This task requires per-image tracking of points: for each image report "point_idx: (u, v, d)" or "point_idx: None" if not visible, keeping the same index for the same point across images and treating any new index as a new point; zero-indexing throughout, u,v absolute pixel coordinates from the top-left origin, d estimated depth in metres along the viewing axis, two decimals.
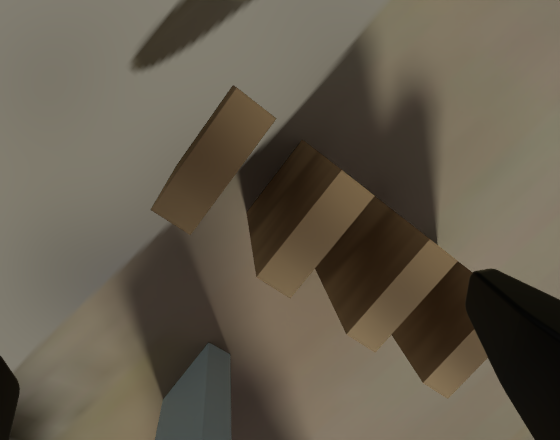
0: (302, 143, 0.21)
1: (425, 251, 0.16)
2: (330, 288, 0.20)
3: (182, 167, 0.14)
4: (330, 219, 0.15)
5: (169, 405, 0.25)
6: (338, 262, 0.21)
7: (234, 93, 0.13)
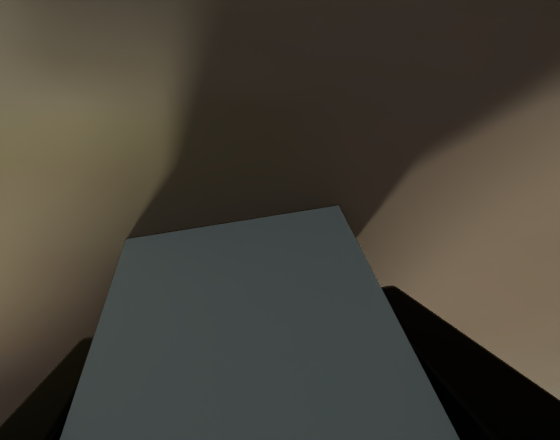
0: None
1: None
2: None
3: None
4: None
5: (166, 272, 0.08)
6: None
7: None
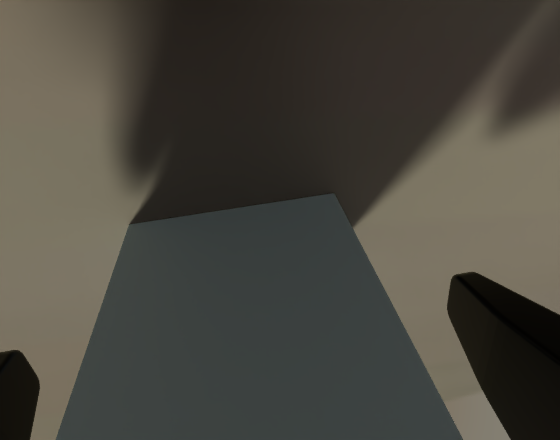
0: None
1: None
2: None
3: None
4: None
5: (168, 254, 0.09)
6: None
7: None
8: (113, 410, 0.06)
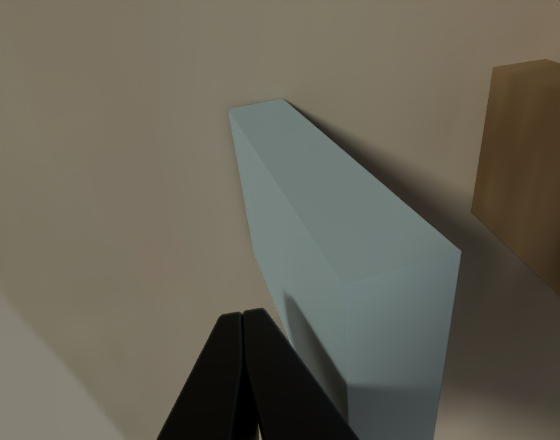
0: None
1: None
2: None
3: None
4: None
5: None
6: None
7: None
8: None
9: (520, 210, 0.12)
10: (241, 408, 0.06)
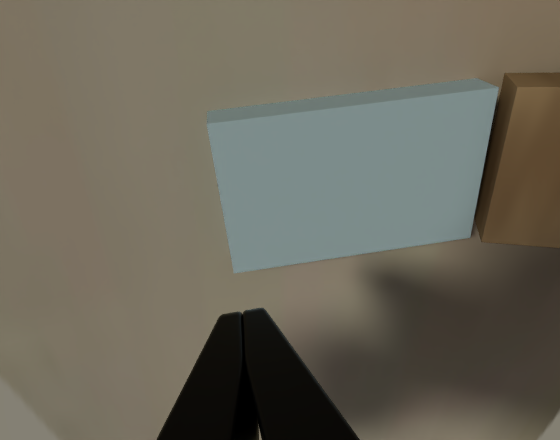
0: None
1: None
2: None
3: None
4: None
5: None
6: None
7: None
8: None
9: None
10: (241, 408, 0.06)
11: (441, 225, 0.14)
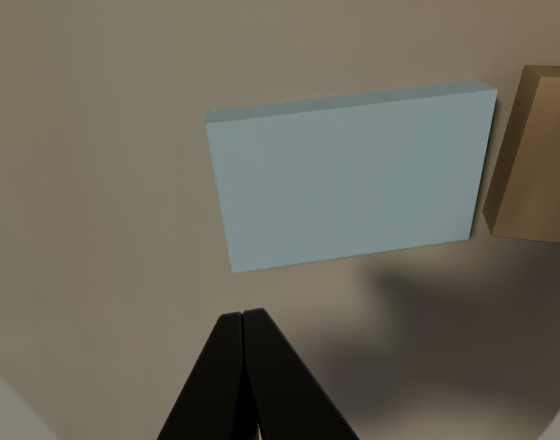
0: None
1: None
2: None
3: None
4: None
5: None
6: None
7: None
8: None
9: None
10: (241, 408, 0.06)
11: (439, 226, 0.14)
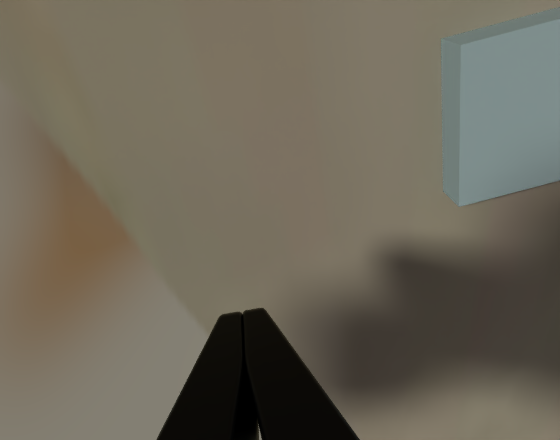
0: None
1: None
2: None
3: None
4: None
5: None
6: None
7: None
8: None
9: None
10: (241, 408, 0.06)
11: None
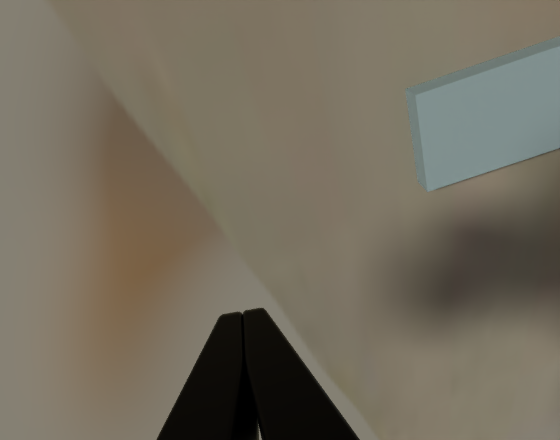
0: None
1: None
2: None
3: None
4: None
5: None
6: None
7: None
8: None
9: None
10: (241, 408, 0.06)
11: None
